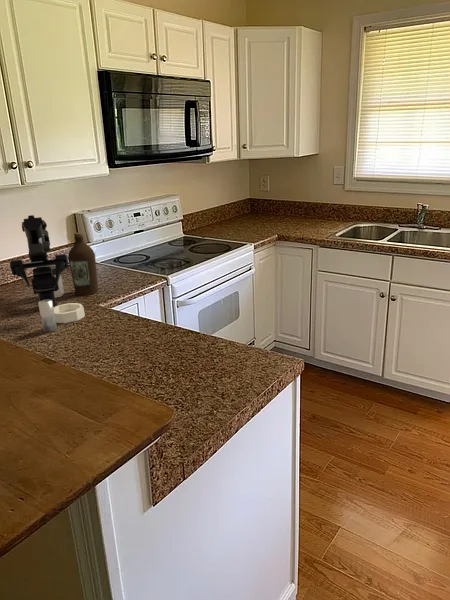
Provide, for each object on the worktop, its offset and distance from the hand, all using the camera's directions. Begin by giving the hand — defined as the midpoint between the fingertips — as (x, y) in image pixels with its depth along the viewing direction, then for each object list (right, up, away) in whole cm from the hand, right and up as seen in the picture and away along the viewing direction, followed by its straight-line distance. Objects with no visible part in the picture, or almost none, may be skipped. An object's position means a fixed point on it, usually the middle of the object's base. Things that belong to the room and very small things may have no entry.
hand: (43, 284), depth 164 cm
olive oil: (+4, -2, +37) cm, 37 cm away
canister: (+4, -15, -3) cm, 16 cm away
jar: (-9, -4, +35) cm, 36 cm away
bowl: (+6, -11, +8) cm, 15 cm away
